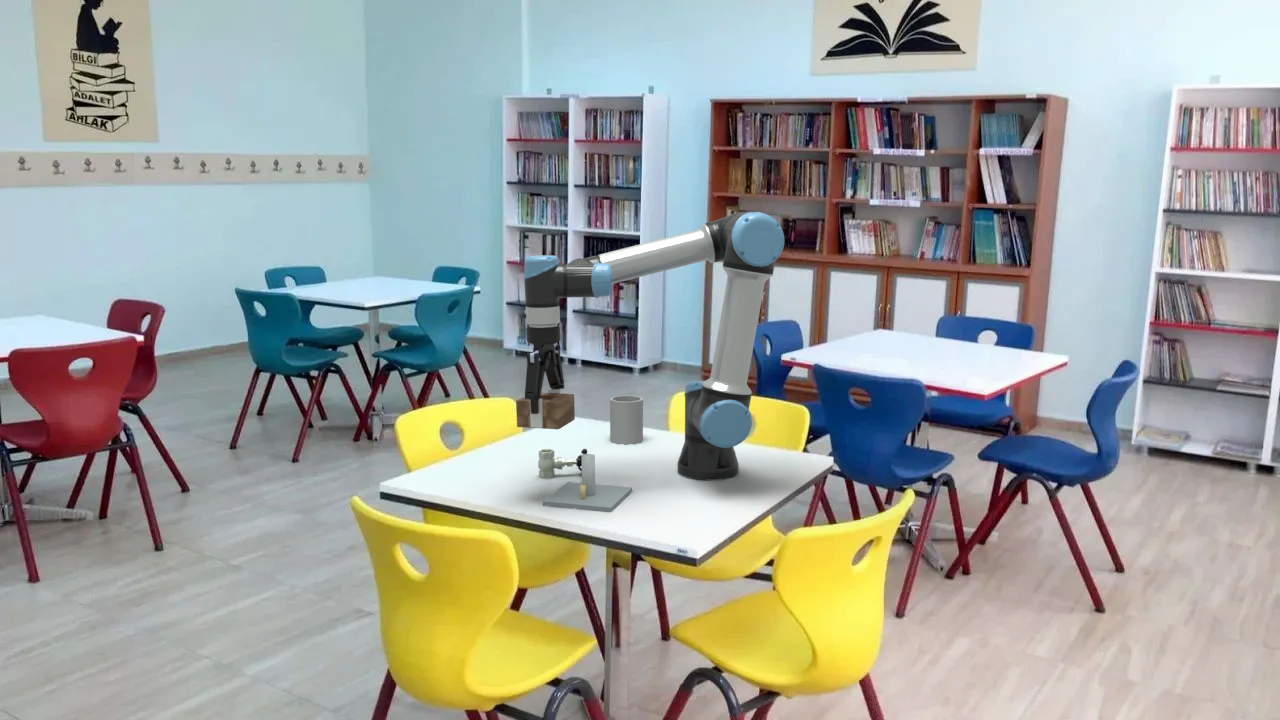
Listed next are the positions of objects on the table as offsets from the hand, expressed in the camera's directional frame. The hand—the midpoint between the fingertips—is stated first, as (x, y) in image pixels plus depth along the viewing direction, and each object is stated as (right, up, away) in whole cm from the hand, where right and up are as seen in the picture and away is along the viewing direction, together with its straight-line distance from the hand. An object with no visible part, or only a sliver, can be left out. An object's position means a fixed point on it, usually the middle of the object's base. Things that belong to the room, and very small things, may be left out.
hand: (546, 422), depth 234 cm
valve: (+2, -15, +19) cm, 24 cm away
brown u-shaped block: (0, 0, 0) cm, 0 cm away
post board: (+10, -17, 0) cm, 20 cm away
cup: (+18, -9, +54) cm, 57 cm away
